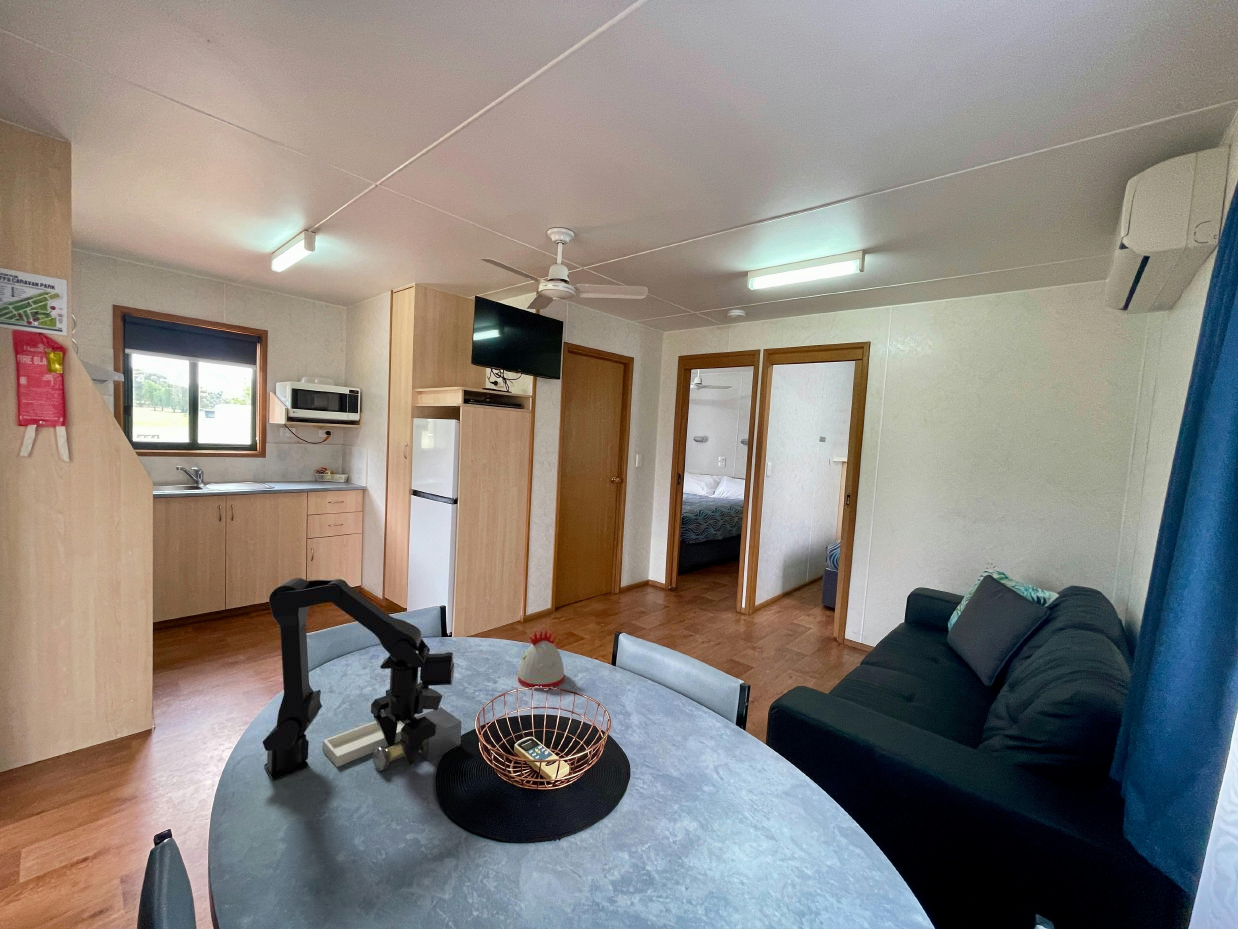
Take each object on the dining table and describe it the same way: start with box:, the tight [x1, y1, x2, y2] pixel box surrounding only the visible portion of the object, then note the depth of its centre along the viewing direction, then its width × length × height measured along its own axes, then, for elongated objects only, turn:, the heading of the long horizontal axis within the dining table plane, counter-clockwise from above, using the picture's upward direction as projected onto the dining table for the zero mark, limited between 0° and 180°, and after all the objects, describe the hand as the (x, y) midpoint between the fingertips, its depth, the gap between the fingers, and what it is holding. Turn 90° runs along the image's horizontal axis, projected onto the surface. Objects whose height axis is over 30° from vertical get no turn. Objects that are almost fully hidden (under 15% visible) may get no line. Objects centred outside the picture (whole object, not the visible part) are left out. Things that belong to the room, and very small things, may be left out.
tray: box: [322, 720, 404, 768], centre depth 117 cm, size 17×8×2 cm, turn 139°
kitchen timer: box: [517, 629, 565, 688], centre depth 153 cm, size 14×14×15 cm
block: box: [415, 706, 463, 762], centre depth 117 cm, size 8×9×6 cm
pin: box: [372, 741, 424, 772], centre depth 112 cm, size 13×5×5 cm, turn 139°
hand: (401, 755), depth 111 cm, fingers open, 9 cm apart
